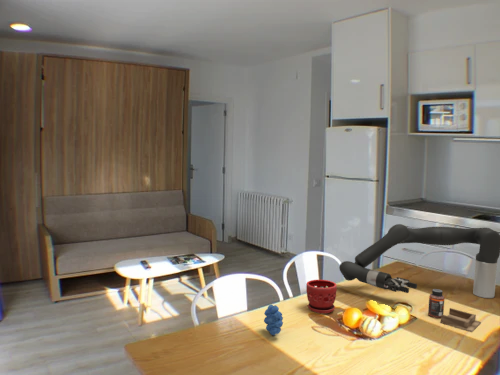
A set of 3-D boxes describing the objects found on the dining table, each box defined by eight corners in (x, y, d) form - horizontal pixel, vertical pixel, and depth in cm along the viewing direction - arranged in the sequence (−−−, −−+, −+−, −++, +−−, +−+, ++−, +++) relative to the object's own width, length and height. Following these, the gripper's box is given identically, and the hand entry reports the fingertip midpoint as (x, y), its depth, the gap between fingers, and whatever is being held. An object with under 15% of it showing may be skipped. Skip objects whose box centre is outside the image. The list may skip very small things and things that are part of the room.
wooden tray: (450, 314, 178) (450, 307, 178) (480, 323, 170) (481, 316, 170) (440, 322, 170) (440, 315, 170) (471, 332, 162) (472, 324, 161)
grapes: (290, 339, 153) (291, 308, 151) (275, 342, 149) (275, 311, 148) (274, 326, 163) (275, 297, 162) (259, 329, 160) (260, 300, 159)
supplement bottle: (444, 319, 173) (446, 293, 172) (429, 317, 175) (431, 292, 173) (441, 313, 179) (443, 288, 178) (426, 312, 180) (428, 287, 179)
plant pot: (340, 308, 183) (341, 282, 182) (328, 318, 172) (330, 290, 171) (312, 301, 190) (313, 276, 189) (300, 311, 179) (301, 284, 178)
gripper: (372, 274, 189) (406, 283, 178) (386, 268, 199) (419, 277, 188) (370, 290, 190) (405, 300, 178) (385, 283, 200) (418, 293, 188)
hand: (412, 288), depth 183 cm, fingers open, 8 cm apart
